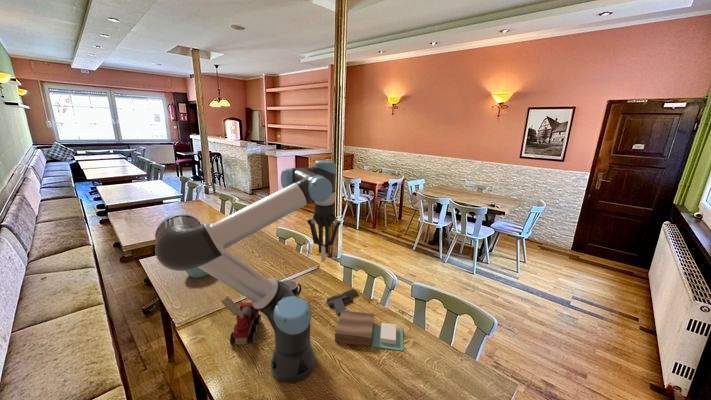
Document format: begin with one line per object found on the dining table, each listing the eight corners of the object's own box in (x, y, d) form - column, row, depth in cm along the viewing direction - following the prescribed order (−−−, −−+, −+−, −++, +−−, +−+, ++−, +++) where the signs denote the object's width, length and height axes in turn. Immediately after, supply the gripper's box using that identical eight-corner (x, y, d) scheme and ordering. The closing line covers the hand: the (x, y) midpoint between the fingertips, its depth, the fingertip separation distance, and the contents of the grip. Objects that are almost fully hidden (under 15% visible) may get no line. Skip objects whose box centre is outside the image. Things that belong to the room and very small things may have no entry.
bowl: (219, 276, 152) (217, 262, 150) (184, 284, 143) (182, 270, 141) (214, 264, 164) (212, 251, 162) (182, 271, 156) (180, 257, 154)
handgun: (369, 300, 136) (353, 287, 144) (339, 313, 124) (324, 298, 133) (368, 305, 136) (352, 291, 145) (338, 318, 125) (323, 303, 134)
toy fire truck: (262, 319, 121) (260, 282, 117) (252, 347, 107) (250, 306, 102) (234, 320, 120) (231, 282, 116) (220, 348, 105) (216, 306, 101)
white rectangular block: (380, 338, 110) (379, 342, 111) (395, 340, 110) (395, 344, 110) (381, 322, 119) (381, 326, 120) (395, 324, 118) (395, 328, 119)
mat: (403, 351, 108) (403, 350, 108) (371, 346, 109) (371, 346, 109) (402, 329, 119) (402, 328, 119) (374, 325, 121) (374, 324, 120)
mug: (286, 313, 126) (285, 293, 123) (274, 304, 131) (273, 285, 129) (307, 301, 135) (307, 282, 132) (295, 293, 140) (294, 275, 137)
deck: (370, 346, 109) (371, 337, 108) (334, 341, 111) (335, 333, 110) (373, 322, 122) (374, 314, 121) (341, 318, 124) (341, 310, 123)
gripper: (343, 201, 109) (341, 257, 115) (310, 198, 110) (310, 254, 117) (340, 206, 102) (338, 266, 108) (304, 204, 103) (304, 263, 110)
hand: (323, 260), depth 112 cm, fingers closed
